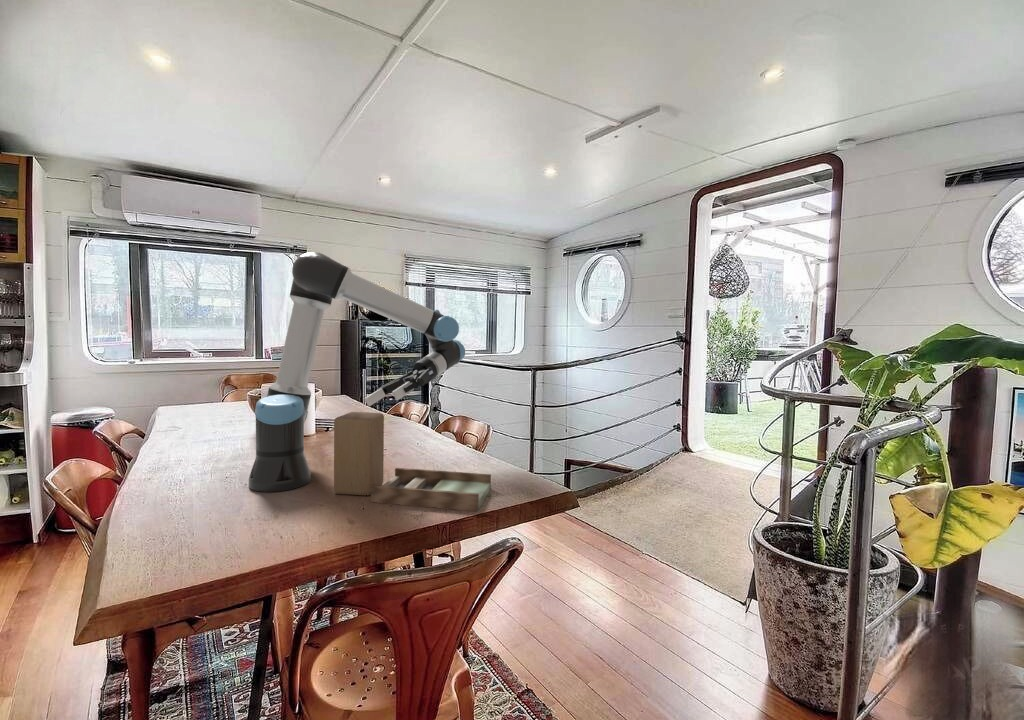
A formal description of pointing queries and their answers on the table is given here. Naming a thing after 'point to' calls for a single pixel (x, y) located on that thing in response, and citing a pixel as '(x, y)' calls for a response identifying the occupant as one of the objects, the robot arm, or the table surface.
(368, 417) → the block
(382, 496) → the box
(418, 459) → the table surface
